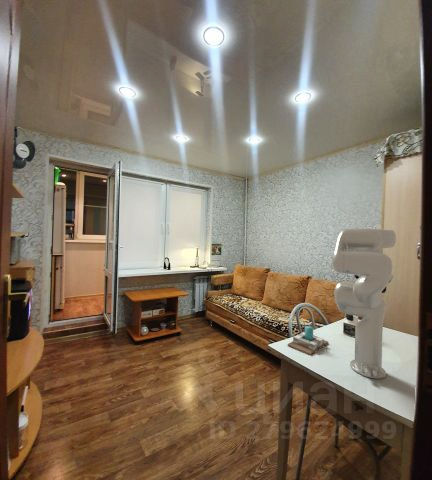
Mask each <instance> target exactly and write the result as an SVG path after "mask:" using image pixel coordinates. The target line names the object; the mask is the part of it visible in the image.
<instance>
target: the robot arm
mask: <svg viewBox="0 0 432 480" xmlns="http://www.w3.org/2000/svg"><path fill="white" fill-rule="evenodd" d="M396 242H397V235H396V232H395V231H394V230H393V229H381V228H380V229H379V228H378V229H377V228H345V229H342V230H341V231H340V232H339V233H338V235H337V239H336V242H335V247H334V251H333V255H332V261H331V262H332V263H331V264H332V267H333V270H334V271H336V272H337V273H339V274H347V275H353V277H354V278H355V281H354V282H348V281H340V282H338V283H336V285H335V286H334V292H333V295H334V296H333V297H334V301H335V304H336V306H337V309H338V311H339V312H340V313H342V314H345V315H346V314H349V315H354V316H358V318H359V317H360V318H361V319H360V320H358V323H357V324H356V327H355V337H354V359H352V360H350V362H349V363H350V365H349V366H350V368H351V369H352V370H353V371H354V372H355V373H357V374H359V375H361V376H364V377H366V378H369V379H370V378H371V379H376V380H377V379H379V380H381V379H384V378H386V377H387V372H386V370H385V369H384V368H383V365H382V364H383V363H382V362H383V361H382V360H383V331H384V320H385V314H386V311H387V310H386V309H387V306H386V301H385V300H384V299H382V295H383V294H385V293H386V292H387V285H389V283H391V282H392V281H393V279H394V278H395V277H394V275H392V273H393V261H392V258H391V257H389V255H387V254H385V253H382V252H383V249H388V248H393V247H395V245H396Z"/></svg>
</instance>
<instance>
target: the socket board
mask: <svg viewBox="0 0 432 480" xmlns="http://www.w3.org/2000/svg"><path fill="white" fill-rule="evenodd" d="M328 344H329V341H328V340H325V339H324V338H322V337H319V336H318V335H317V336H316V335H314V334H313V341H308V340H306V339H305V331H302V332H301V333H298V334H297V335H295V336H293V339H292V341H291V342H289V343H287V347H289V348H291V349H294V350H295V351H296V350H297V351H298V352H301V353H303V354H305V355H307V356H312V355H313V354H315V353H317V352H318V351H319V350H322V348H324V347H326V346H327V345H328Z"/></svg>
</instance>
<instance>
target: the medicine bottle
mask: <svg viewBox="0 0 432 480" xmlns="http://www.w3.org/2000/svg"><path fill="white" fill-rule="evenodd" d="M345 316H346V317H345V320H344V321H343V324H342V325H343V326H342V328H343V330H342V334H343V335H345V336H349V337H353V338H355V327H356V324H357V323H358V322H359V316H354V315H349V314H345Z"/></svg>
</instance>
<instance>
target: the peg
mask: <svg viewBox="0 0 432 480" xmlns="http://www.w3.org/2000/svg"><path fill="white" fill-rule="evenodd" d="M304 332H305V339H306V340H308V341H313V335H314V327H313V326H310V325H305V327H304Z"/></svg>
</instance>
